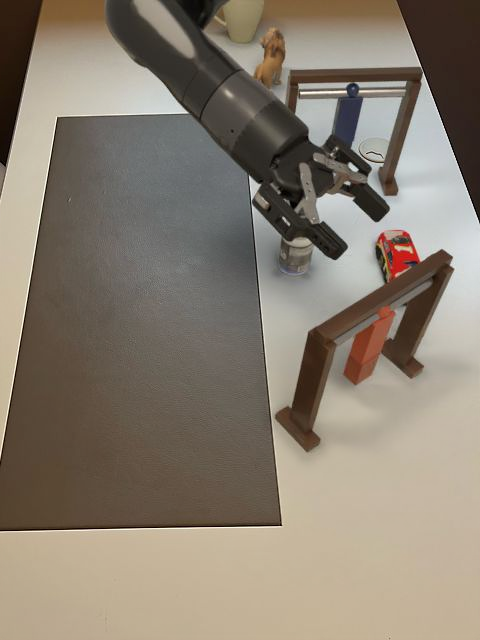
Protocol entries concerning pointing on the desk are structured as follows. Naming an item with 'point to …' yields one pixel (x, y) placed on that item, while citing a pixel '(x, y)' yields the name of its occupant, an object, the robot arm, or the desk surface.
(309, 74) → the far rack
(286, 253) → the pill bottle
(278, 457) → the desk surface
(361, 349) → the two-tone orange prism
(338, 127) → the far pendulum
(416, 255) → the race car
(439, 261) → the near rack
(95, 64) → the desk surface
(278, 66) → the lion figurine
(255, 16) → the mug
